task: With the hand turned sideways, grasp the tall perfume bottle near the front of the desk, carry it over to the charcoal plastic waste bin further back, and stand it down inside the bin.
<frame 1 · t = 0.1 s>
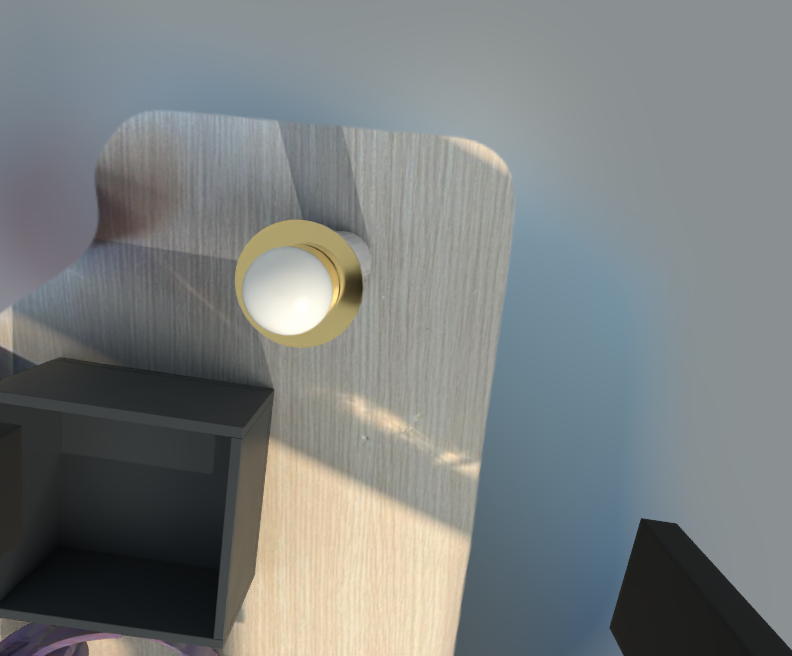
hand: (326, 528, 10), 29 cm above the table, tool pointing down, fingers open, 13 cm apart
perfume bottle: (343, 260, 38), on the table
bin: (161, 471, 42), on the table
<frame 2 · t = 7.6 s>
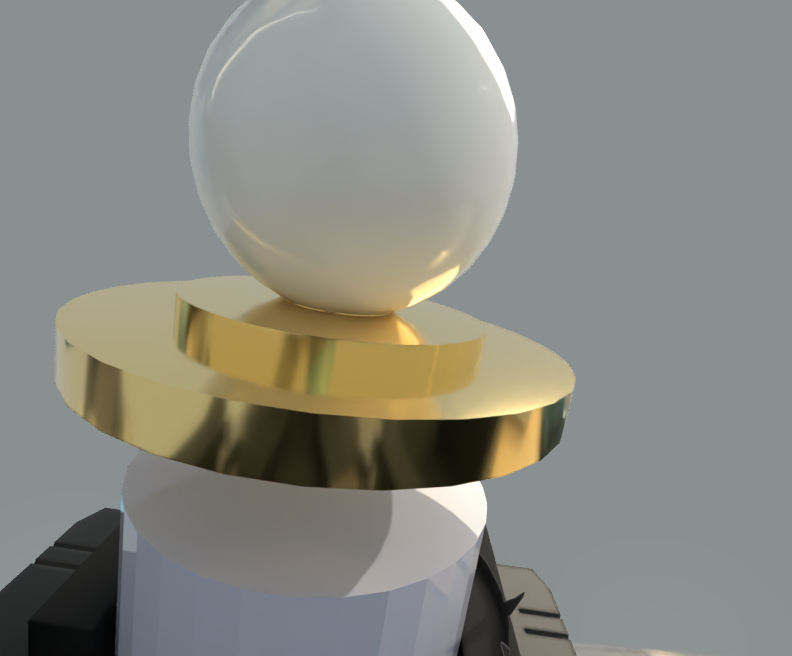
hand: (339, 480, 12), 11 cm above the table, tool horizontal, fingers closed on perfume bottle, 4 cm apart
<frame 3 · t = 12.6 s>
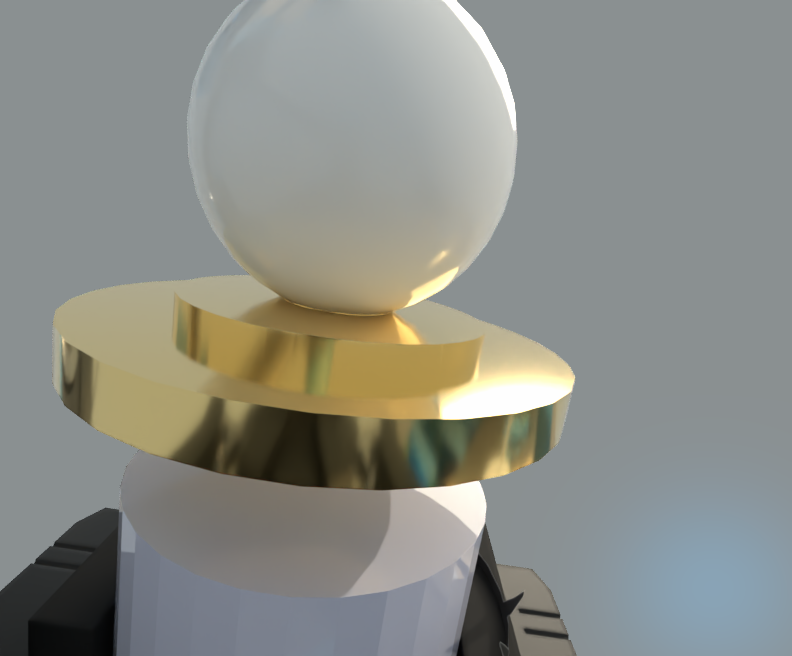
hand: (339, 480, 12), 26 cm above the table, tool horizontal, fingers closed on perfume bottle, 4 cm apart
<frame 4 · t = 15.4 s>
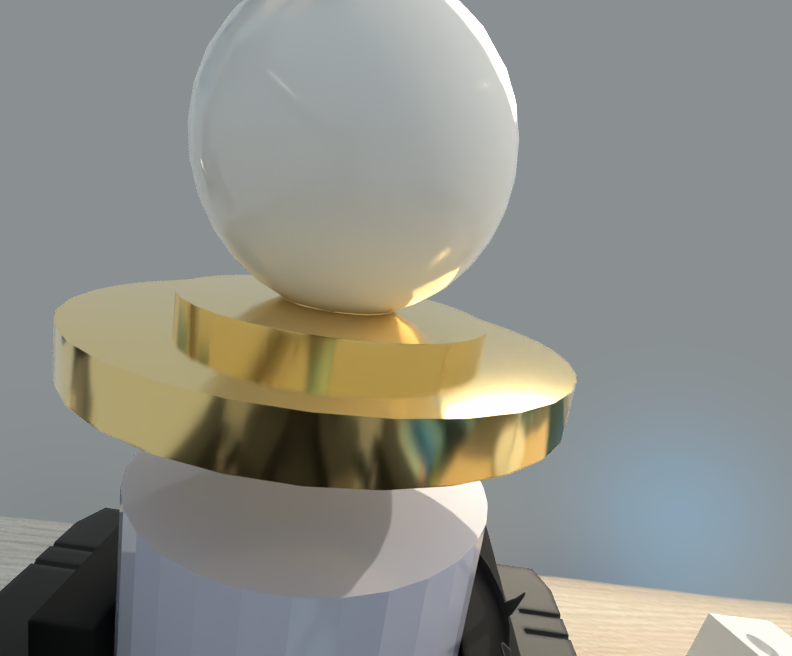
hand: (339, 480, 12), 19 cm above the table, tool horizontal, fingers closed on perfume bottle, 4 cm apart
when the fingers open (12 cm above the table, at t = 17.6 s): perfume bottle stays where it is, resting on bin.
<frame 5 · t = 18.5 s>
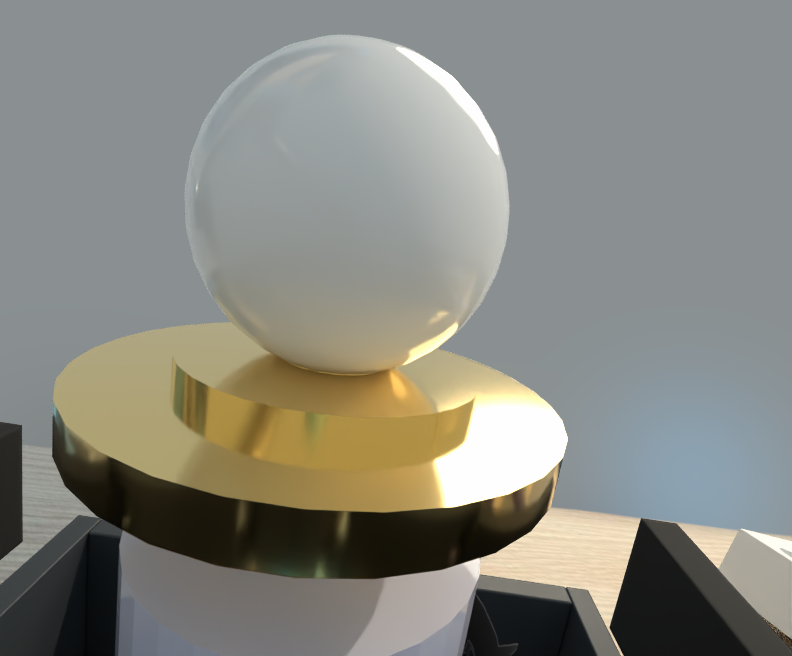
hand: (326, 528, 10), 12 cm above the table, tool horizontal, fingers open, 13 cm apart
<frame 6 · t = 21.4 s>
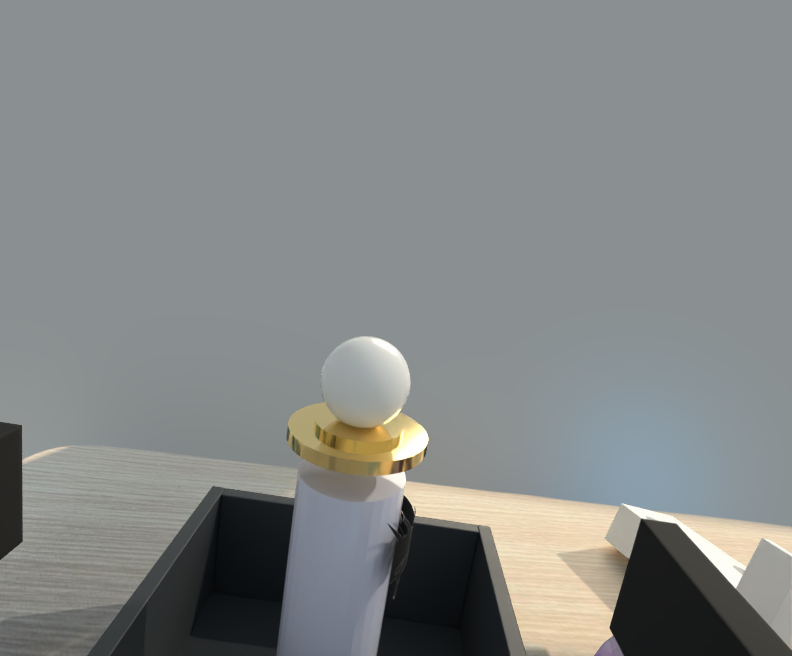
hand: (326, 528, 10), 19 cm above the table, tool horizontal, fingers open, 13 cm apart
bracket: (701, 596, 40), on the table, touching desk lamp
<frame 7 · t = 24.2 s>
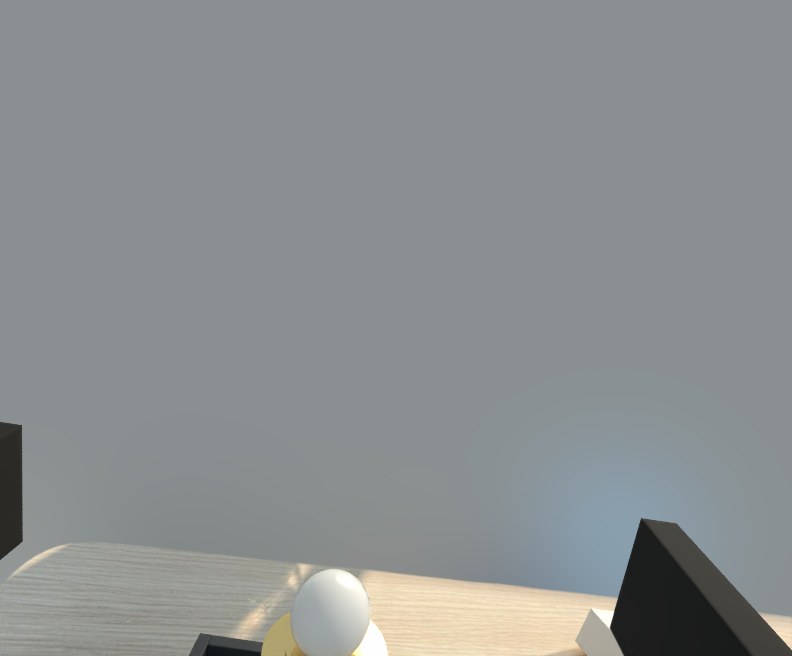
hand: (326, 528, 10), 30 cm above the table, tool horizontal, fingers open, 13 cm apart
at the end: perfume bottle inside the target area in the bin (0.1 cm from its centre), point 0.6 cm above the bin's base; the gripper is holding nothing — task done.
